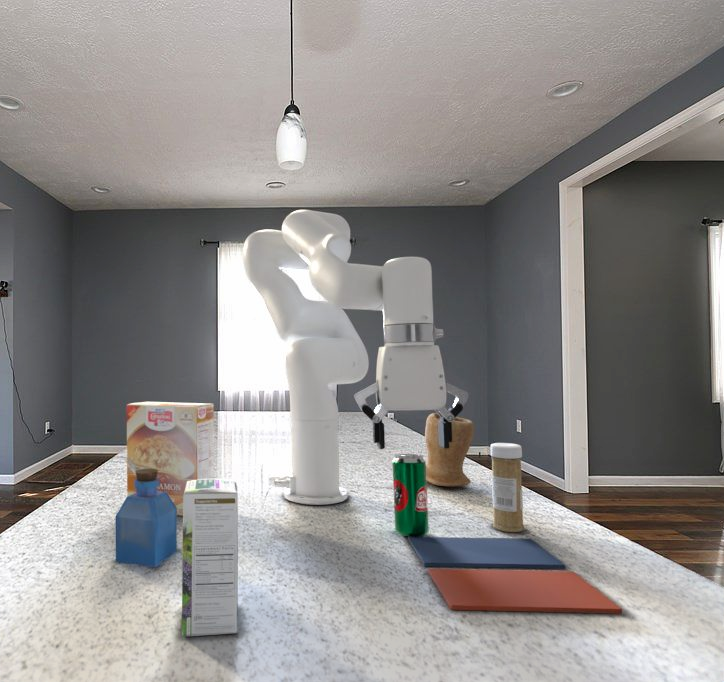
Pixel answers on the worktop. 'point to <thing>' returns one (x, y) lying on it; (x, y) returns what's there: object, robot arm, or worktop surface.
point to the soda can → (410, 495)
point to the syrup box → (210, 557)
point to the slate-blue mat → (483, 552)
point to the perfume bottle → (146, 523)
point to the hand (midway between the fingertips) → (412, 447)
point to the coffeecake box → (170, 445)
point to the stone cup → (447, 452)
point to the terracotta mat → (520, 591)
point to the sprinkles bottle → (507, 487)
